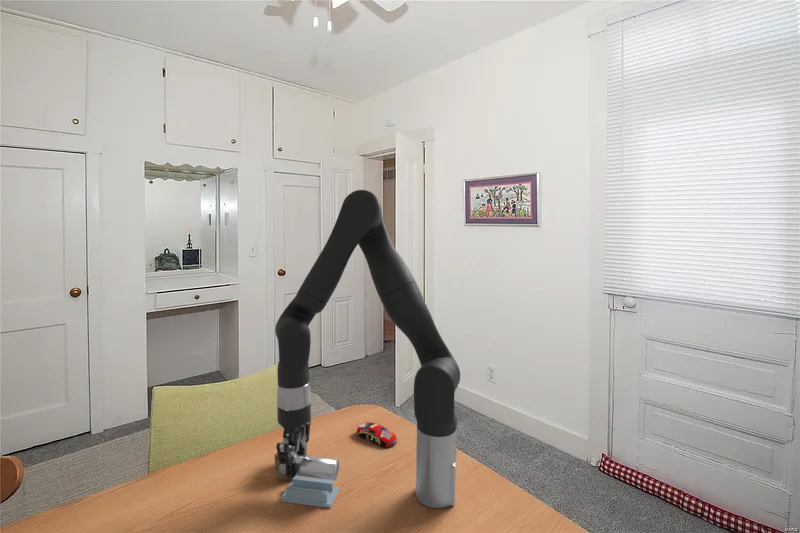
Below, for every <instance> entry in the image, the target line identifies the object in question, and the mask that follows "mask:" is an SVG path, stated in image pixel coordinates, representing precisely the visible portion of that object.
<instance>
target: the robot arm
mask: <svg viewBox="0 0 800 533" xmlns="http://www.w3.org/2000/svg"><path fill="white" fill-rule="evenodd" d="M382 213H383V210H382V205H381V202H380V200H379V198H378V197H377V195H376V194H374V193H373V192H372V191H369V190H366V189H357V190H353V191H352V192H351V193H349V194H347V196H346V197H345V198H344V200H343V202H342V204H341V207H340V210H339V213H338V216H337V218H336V221H335V223H334V225H333V228H332V231H331V233H330V235H329V236H328V239H327V241H326V243H325V245H324V247H323V248H322V250H321V252H320V254H319V255H318V257H317V259H316V261H315V262H314V264H313V266H312V267H311V269H310V270H309V272H308V273H307V275H306V277H305V278H304V280H303V281H302V284H301V285H300V287H299V289H298V291H297V293H296V295H295V296H294V298H293V299H292V300H291V301H290V302H289V304H288V305H287V306H286V308H284V310H283V312H282V313H281V314H280V316H279V317H278V319H277V321H276V325H275V327H274V328H275V329H274V332H275V336H276V338H277V343H278V344H277V345H278V364H277V367H276V368H277V370H276V372H277V389H276V390H277V391H276V408H277V410H276V412H277V415H276V416H277V423H278V425H280V426H281V427H282V429H283V433H282V441H281V442H277V444H276V446H275V447H276V451H277V452H276V453H278V457H279V462H280V464H284V465H286V476H287V477H292V478H294V477H295V476H297V475H296V454H298V455H305V448H306V442H307V443H309V441H310V434H311V432H310V431H311V422H312V421H311V420H312V405H311V404H312V402H311V399H312V398H311V397H312V396H311V386H310V365H309V360H310V353H311V344H312V343H311V339H312V338H311V330H310V328H309V325H310V324H311V322H312V321H313V319H314V318H315V316H316V315H317V314H320V313H322V312H323V310H324V309H325V307H326V306H327V304H328V303H329V301H330V299H331V297H332V296H333V294H334V292H335V291H336V288H337V286H338V284H339V282H340V281H341V279H342V278H341V277H342V276H343V273H344V271H345V269H346V267H347V264H348V263H349V260H350V258H351V256H352V254H353V253H354V251H355V249H356V248H357V246H359V248H360V250H361V251H362V253H363V255H364V258H365V260H366V262H367V266H368V270H369V272H370V276H371V279H372V282H373V284H374V287H375V288H374V289H375V290H376V292H377V295H378V297H379V299H380V302H381V303H382V305H383V308H384V310H385V313H386V314H387V316H388V317H389V319H390V320H391V321H392V323H394V325H395V326H396V327H397V328H398V329H399V330H400V331H401V332H402V333H403V334H404V336H405V337H407V339H408V340H409V341H410V344H411V345H412V346H413V349H414V350H415V351H414V352H415V353H416V355H417V357H418V360H419V363H420V366H421V367H420V368H419V369H418V370H417V371H416V374H415V376H414V382H413V409H414V410H413V411H414V413H413V414H414V417H415V420H416V450H415V451H416V455H415V456H416V458H415V459H416V460H415V461H416V465H415V469H416V470H415V472H416V473H415V477H416V480H415V496H416V499H417V501H418V502H419V503H420V504H422V505H423V506H425V507H427V508H431V509H443V508H446V507H447V508H448V507H450V506H451V507H454V506H455V504H456V490H457V489H456V487H457V484H456V481H457V476H456V475H457V436H458V435H457V433H458V432H457V428H458V418H457V414H455V392H456V390H457V389H458V386H459V384H460V381H461V371H460V366H459V365H458V363H457V361H456V359H455V358H454V355H453V354H452V352H451V351H450V349H449V348H448V347H447V344H446V343H445V341H444V339H443V338H442V336H441V334H440V332H439V330H438V329H437V326H436V324H435V322H434V321H435V320H434V319H433V317H432V315H431V312H430V310H429V308H428V306H427V304H426V302H425V299H424V296H423V294H422V291H421V289H420V287H419V286H418V284H417V281H416V279H415V278H414V275H413V274H412V272H411V270H410V268H409V267H408V265H407V264H406V262H405V261H404V259H403V258H402V257H401V254H399V253H398V251H397V249H396V248H395V246H394V243H393V242H392V239H391V237H390V235H389V232H388V230H387V227H386V224H385V221H384V218H383V214H382ZM290 446H295V448H292V447H290ZM291 452H292V457H291Z"/></svg>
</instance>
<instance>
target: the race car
mask: <svg viewBox="0 0 800 533" xmlns="http://www.w3.org/2000/svg"><path fill="white" fill-rule="evenodd" d="M356 435H357V436H358V437H360V439H363V440H366V441H369V442H370V443H373V444H375V445H378V446H381V447H383V448H384V449H386V448H390V447H393V446H394V445H396V444H397V442H398V441H397V440H398V438H397V435H396V434H395V433H393V432H392V431H390V430H388V427H387V426H386V427H385V426H383V425H381V424H378V423H377V422H376V423H375V422H371V421H370V422H368V421H367V422H362V423H360V424H359V425H358V426H357V429H356Z"/></svg>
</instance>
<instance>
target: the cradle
mask: <svg viewBox="0 0 800 533" xmlns="http://www.w3.org/2000/svg"><path fill="white" fill-rule="evenodd" d="M286 486H287V487H286V488H285V491H284V493H283V494H282V495H281V497H280V502H282V503H283V502H284V503H291V504H297V505H305V506H313V507H322V508H328V509H331V508H332V506H333V503H334V502H335V499H336V497H337V495H338V493H339V492H340V491H339V490H340V487H338V486H335V481H334V480H326V479H319V478H312V477H304V476H297V475H296V476H295V477H294V478H293V481H290V483H289V485H286Z"/></svg>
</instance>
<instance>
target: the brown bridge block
mask: <svg viewBox="0 0 800 533" xmlns="http://www.w3.org/2000/svg"><path fill="white" fill-rule="evenodd" d="M290 447H292V448H295V446H290ZM291 454H292V452H291ZM305 455H306V456H308V442H306V448H305ZM279 466H280V462H279V457H278V453H277V452H276V453H275V454H274V472H275V474H274V475H275V476H274V477H275V478H274V479H275V480H279V481H280V480H282V481H290V482H293V478H292V477H287V476H286V474H282V473H280V470H279Z"/></svg>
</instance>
